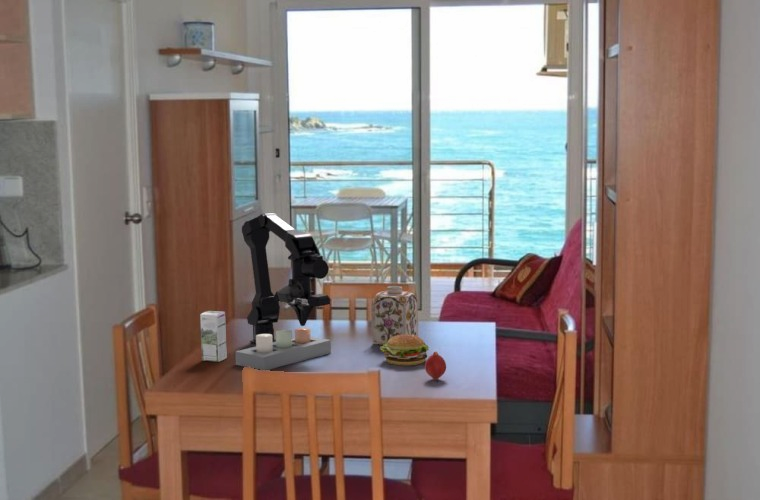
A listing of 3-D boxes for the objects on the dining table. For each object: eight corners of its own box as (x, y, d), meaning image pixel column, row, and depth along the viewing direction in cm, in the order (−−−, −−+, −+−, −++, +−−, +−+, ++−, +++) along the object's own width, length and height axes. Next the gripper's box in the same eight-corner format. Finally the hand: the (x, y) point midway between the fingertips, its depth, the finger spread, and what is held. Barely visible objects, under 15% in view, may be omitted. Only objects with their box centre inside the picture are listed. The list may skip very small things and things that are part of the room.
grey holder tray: (235, 364, 301) (235, 351, 300) (303, 347, 322) (302, 335, 321) (264, 370, 293) (263, 357, 292) (330, 352, 314) (330, 340, 313)
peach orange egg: (292, 350, 313) (291, 329, 312) (303, 347, 317) (302, 326, 316) (303, 352, 310) (302, 331, 309) (314, 349, 313) (313, 328, 313)
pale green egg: (272, 352, 307) (272, 331, 306) (284, 349, 310) (283, 328, 310) (284, 354, 304) (283, 333, 303) (295, 351, 307) (295, 330, 306)
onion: (423, 377, 283) (423, 349, 282) (444, 376, 284) (444, 348, 283) (426, 382, 277) (426, 353, 276) (447, 382, 278) (447, 353, 277)
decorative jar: (371, 344, 325) (370, 288, 323) (385, 337, 336) (384, 283, 333) (406, 347, 321) (406, 290, 318) (419, 339, 331) (418, 284, 329)
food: (373, 359, 305) (372, 333, 304) (415, 354, 311) (415, 328, 310) (392, 369, 293) (391, 342, 292) (436, 364, 298) (435, 337, 297)
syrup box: (227, 358, 309) (226, 310, 307) (218, 362, 304) (216, 314, 302) (210, 356, 311) (209, 309, 309) (201, 361, 306) (199, 313, 304)
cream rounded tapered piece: (253, 357, 301) (252, 335, 300) (265, 354, 304) (264, 333, 304) (264, 359, 298) (263, 337, 297) (276, 356, 301) (275, 335, 300)
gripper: (260, 275, 310) (262, 326, 312) (304, 281, 298) (306, 334, 300) (287, 271, 318) (288, 320, 320) (330, 276, 306) (331, 327, 308)
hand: (302, 325), depth 312 cm, fingers closed
